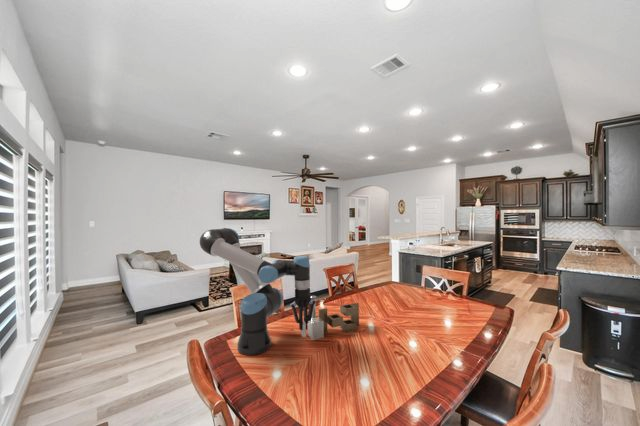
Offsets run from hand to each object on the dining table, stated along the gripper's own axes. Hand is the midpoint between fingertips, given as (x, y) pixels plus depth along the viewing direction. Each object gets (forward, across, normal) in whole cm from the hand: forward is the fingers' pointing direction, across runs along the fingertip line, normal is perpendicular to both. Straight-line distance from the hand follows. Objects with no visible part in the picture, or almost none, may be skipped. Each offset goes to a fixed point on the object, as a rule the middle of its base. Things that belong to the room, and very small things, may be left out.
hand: (303, 335), depth 131 cm
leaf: (+2, +12, 0) cm, 12 cm away
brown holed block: (+2, +28, +1) cm, 28 cm away
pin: (+2, +10, +10) cm, 14 cm away
